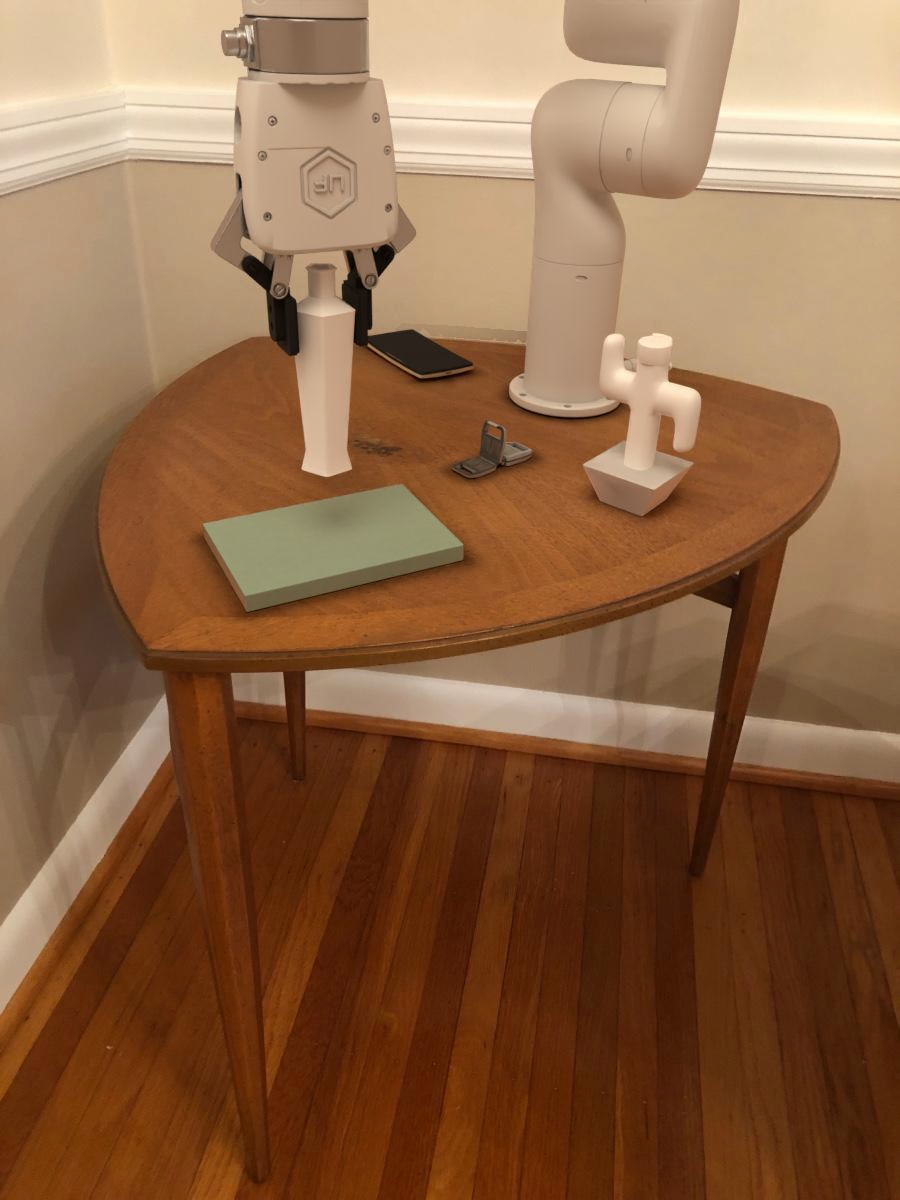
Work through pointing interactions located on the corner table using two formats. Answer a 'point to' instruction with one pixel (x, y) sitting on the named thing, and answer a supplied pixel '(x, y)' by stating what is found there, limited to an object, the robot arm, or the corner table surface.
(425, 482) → the corner table surface
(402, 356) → the smartphone
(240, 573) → the tile slab
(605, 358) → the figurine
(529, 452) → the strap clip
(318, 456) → the white faceted vase
